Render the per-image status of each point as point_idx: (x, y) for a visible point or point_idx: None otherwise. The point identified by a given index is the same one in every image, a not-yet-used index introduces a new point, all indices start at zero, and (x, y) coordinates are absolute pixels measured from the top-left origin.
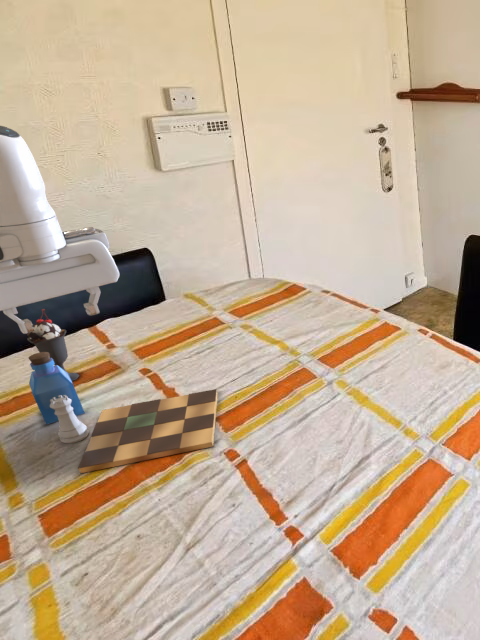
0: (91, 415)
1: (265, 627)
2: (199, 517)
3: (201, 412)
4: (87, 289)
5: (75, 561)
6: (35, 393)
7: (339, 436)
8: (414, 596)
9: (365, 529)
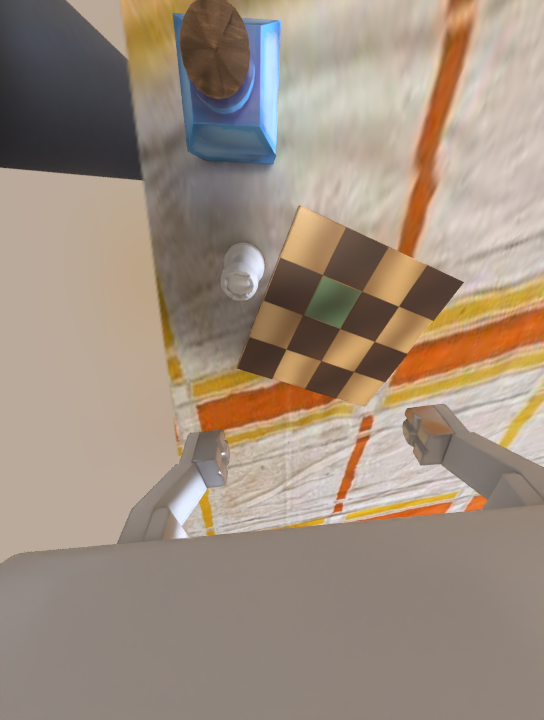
0: (281, 188)
1: None
2: (303, 472)
3: (399, 338)
4: (505, 507)
5: None
6: (193, 150)
7: None
8: None
9: None
